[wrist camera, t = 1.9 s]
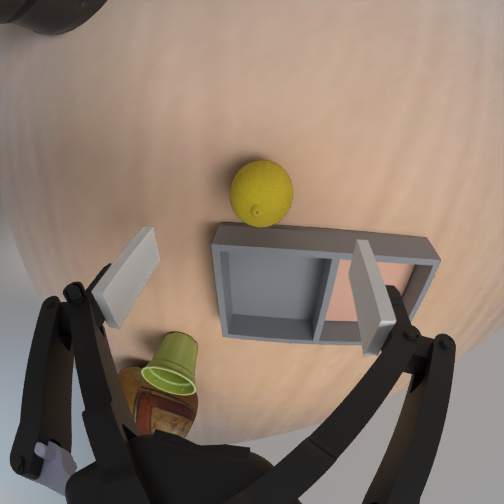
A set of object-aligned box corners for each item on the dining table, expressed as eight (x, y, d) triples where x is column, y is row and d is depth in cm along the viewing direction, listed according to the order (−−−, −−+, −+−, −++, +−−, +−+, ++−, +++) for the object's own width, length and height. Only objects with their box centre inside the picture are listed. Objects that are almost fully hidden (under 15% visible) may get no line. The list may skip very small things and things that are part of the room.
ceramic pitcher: (176, 402, 65) (150, 496, 41) (113, 366, 59) (73, 464, 35) (219, 389, 56) (193, 511, 32) (143, 345, 49) (91, 479, 25)
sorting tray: (221, 221, 31) (211, 244, 27) (426, 237, 28) (441, 260, 25) (228, 312, 39) (222, 336, 36) (391, 321, 37) (397, 344, 33)
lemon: (287, 205, 29) (286, 248, 22) (236, 197, 29) (218, 237, 22) (297, 156, 25) (300, 185, 19) (241, 147, 26) (223, 173, 19)
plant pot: (211, 335, 43) (199, 380, 36) (203, 361, 49) (192, 400, 42) (158, 318, 43) (139, 360, 36) (157, 346, 48) (142, 383, 41)
